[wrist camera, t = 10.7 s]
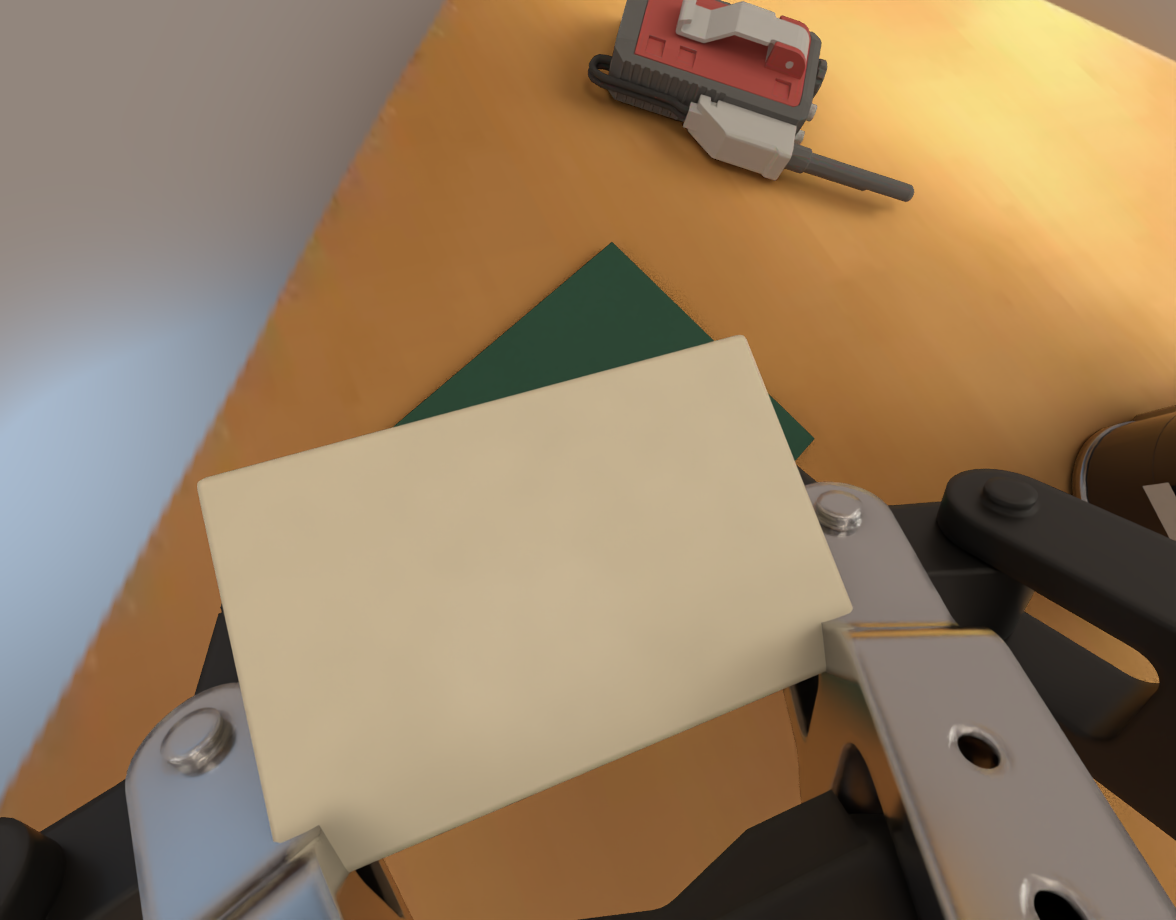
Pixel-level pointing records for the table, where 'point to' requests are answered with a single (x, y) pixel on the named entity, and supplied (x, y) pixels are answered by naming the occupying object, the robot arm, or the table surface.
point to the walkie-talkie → (729, 84)
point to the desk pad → (582, 341)
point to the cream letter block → (515, 594)
